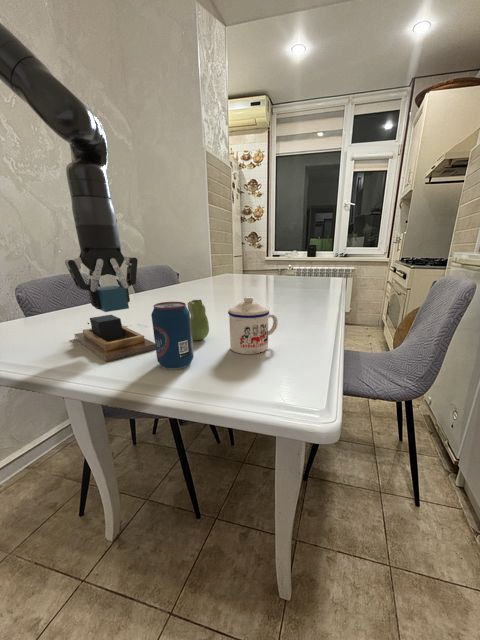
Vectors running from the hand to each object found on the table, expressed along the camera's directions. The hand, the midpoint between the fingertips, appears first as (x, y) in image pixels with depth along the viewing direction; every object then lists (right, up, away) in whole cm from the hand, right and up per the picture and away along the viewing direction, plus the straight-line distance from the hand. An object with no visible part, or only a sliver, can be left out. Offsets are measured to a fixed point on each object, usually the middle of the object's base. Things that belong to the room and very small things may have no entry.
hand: (111, 306), depth 65 cm
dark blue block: (-4, -6, +7) cm, 10 cm away
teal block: (0, 0, 0) cm, 0 cm away
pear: (+18, -7, +8) cm, 21 cm away
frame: (-2, -8, +5) cm, 10 cm away
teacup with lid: (+32, -9, +3) cm, 33 cm away
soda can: (+16, -13, -6) cm, 22 cm away
